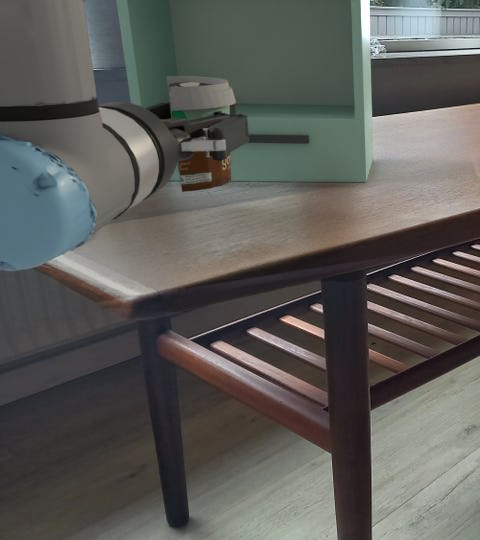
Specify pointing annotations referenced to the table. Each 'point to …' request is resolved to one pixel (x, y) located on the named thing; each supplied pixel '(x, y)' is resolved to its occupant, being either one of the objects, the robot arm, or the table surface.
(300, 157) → the mint green cubby cabinet
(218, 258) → the table surface
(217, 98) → the food container
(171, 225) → the table surface
